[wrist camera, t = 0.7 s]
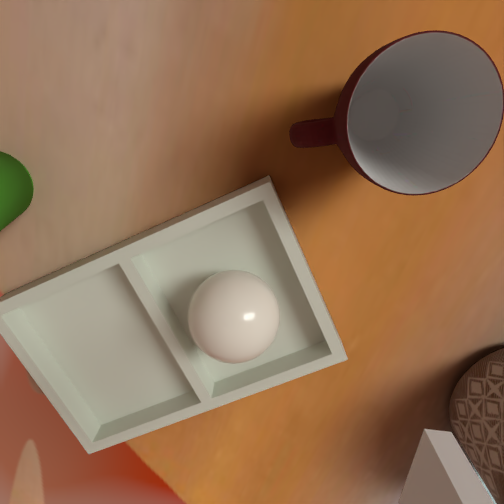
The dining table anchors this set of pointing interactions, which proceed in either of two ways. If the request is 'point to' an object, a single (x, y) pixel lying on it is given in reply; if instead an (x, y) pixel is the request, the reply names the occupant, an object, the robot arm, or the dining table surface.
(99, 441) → the tray
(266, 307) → the white ball
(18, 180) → the cup
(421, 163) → the mug
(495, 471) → the planter
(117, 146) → the dining table surface
